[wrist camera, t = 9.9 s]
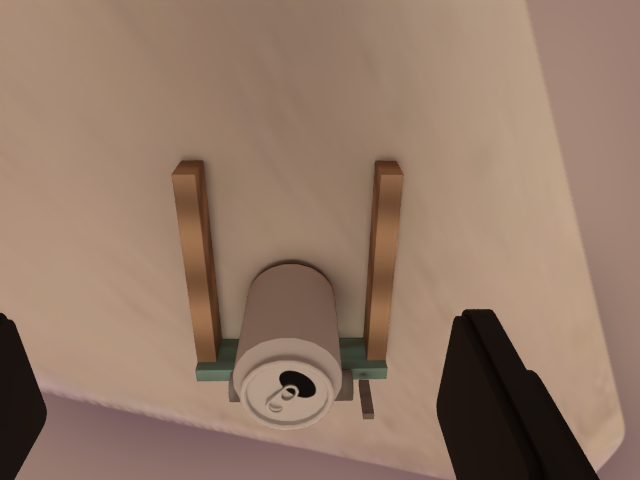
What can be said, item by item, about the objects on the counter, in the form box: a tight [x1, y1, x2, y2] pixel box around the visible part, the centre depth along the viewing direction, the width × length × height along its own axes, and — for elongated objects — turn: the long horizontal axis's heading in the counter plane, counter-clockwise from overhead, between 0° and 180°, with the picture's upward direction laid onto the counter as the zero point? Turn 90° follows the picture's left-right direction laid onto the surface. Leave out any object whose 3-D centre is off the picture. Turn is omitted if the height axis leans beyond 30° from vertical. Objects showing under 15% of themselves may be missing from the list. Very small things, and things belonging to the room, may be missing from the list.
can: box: [233, 264, 342, 430], centre depth 37 cm, size 8×8×12 cm
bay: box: [172, 161, 404, 419], centre depth 37 cm, size 19×16×9 cm
